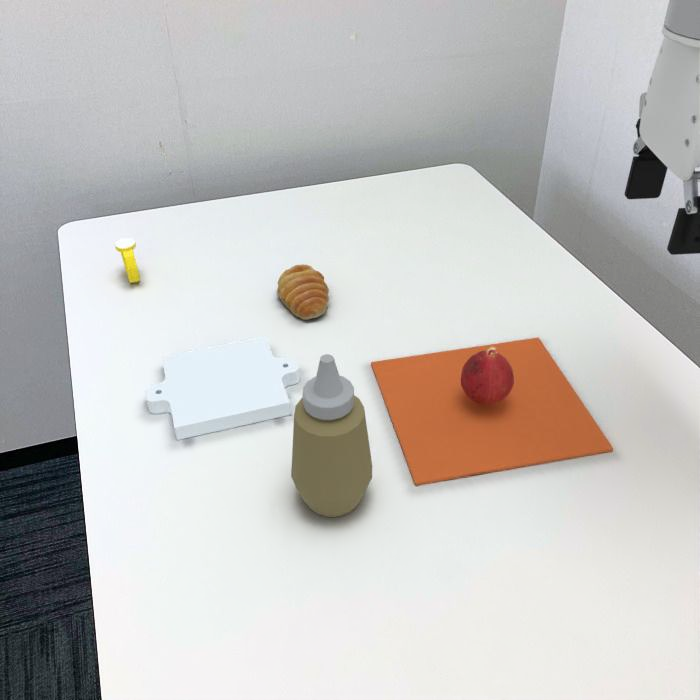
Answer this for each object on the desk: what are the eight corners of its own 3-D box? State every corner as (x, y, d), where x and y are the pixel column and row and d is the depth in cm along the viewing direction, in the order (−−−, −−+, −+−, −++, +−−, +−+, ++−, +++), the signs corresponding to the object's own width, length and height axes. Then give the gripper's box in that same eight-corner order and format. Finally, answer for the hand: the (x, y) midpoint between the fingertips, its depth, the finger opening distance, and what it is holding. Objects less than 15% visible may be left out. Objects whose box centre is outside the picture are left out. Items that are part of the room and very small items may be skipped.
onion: (470, 424, 82) (476, 369, 77) (450, 391, 86) (455, 337, 81) (518, 414, 83) (527, 359, 78) (496, 381, 88) (504, 328, 83)
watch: (120, 269, 109) (111, 234, 105) (139, 265, 110) (130, 230, 106) (127, 290, 105) (118, 254, 101) (146, 286, 106) (138, 250, 102)
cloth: (538, 339, 94) (538, 337, 94) (612, 451, 79) (613, 448, 79) (371, 364, 91) (370, 361, 91) (415, 485, 76) (415, 483, 76)
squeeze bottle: (283, 519, 73) (267, 381, 61) (306, 459, 79) (295, 325, 68) (362, 534, 71) (361, 395, 60) (380, 472, 77) (382, 336, 66)
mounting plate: (286, 343, 95) (285, 332, 93) (312, 409, 85) (311, 397, 84) (143, 372, 91) (140, 360, 89) (154, 445, 81) (150, 432, 80)
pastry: (339, 317, 99) (338, 293, 96) (290, 327, 97) (288, 304, 95) (319, 280, 106) (318, 258, 103) (274, 290, 104) (271, 267, 102)
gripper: (840, 49, 47) (753, 274, 58) (717, -15, 61) (664, 177, 71) (725, 54, 47) (659, 279, 58) (627, -12, 60) (588, 181, 71)
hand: (662, 223), depth 65 cm, fingers open, 9 cm apart
